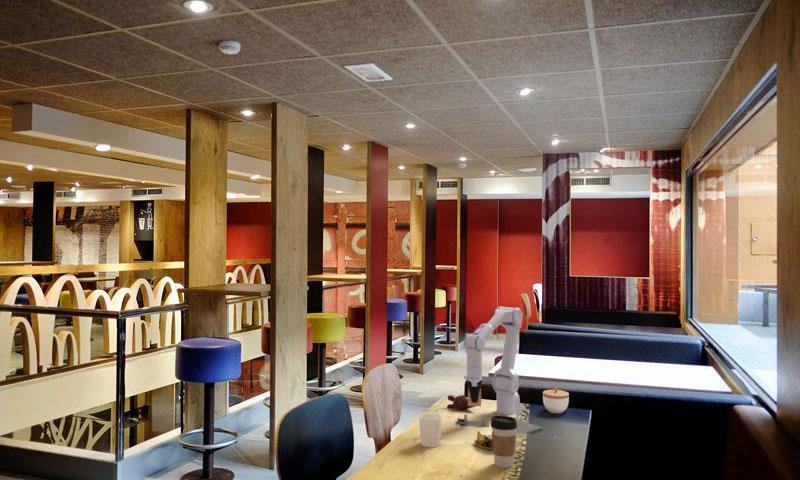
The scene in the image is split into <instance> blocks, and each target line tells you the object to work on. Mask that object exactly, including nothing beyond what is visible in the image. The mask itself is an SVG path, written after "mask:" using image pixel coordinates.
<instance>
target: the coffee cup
mask: <svg viewBox="0 0 800 480" xmlns="http://www.w3.org/2000/svg"><path fill="white" fill-rule="evenodd" d="M490 421H491V422H490V427H491V435H492V440H493V450H492V451H493V458H494V459H493V461H494V465H495V466H496V467H497V466H498V468H501V467H502V468H501V469H509V468H512V467H514V459H515V449H516V438H517V431H516V428H517V418H515V417H513V416H509V415H493V416H491V419H490Z"/></svg>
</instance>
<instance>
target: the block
mask: <svg viewBox="0 0 800 480" xmlns="http://www.w3.org/2000/svg"><path fill="white" fill-rule="evenodd" d="M467 399H468V406H475V407H482V388H481V389H480V392H479V397H478V402H477V403H472V401H471V396H470V391H469V389H468V388H467Z"/></svg>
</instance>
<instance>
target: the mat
mask: <svg viewBox="0 0 800 480" xmlns="http://www.w3.org/2000/svg"><path fill="white" fill-rule="evenodd" d="M516 422H517V428H516V433H520V434H527V433H529V434H530V435H531V434H534V433H538V432H541V431H543V427H542V426H538V425H536V424H532V423H529V422H525V421H523V420H522V421H521V420H516Z"/></svg>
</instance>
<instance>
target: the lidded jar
mask: <svg viewBox="0 0 800 480" xmlns="http://www.w3.org/2000/svg"><path fill="white" fill-rule="evenodd" d="M569 396H570V393H569V392H567V391H565V390H561V389H558V388H554V389H546V390H543V391H542V401H543V402H542V403H543V405H544V407H545V408H546V410H547V411H548V412H549V413H551V414H563V413H564V411H565V410H566V409H567V408H568V406H569V403H570V402H569V401H570V400H569V399H570V397H569Z"/></svg>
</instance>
